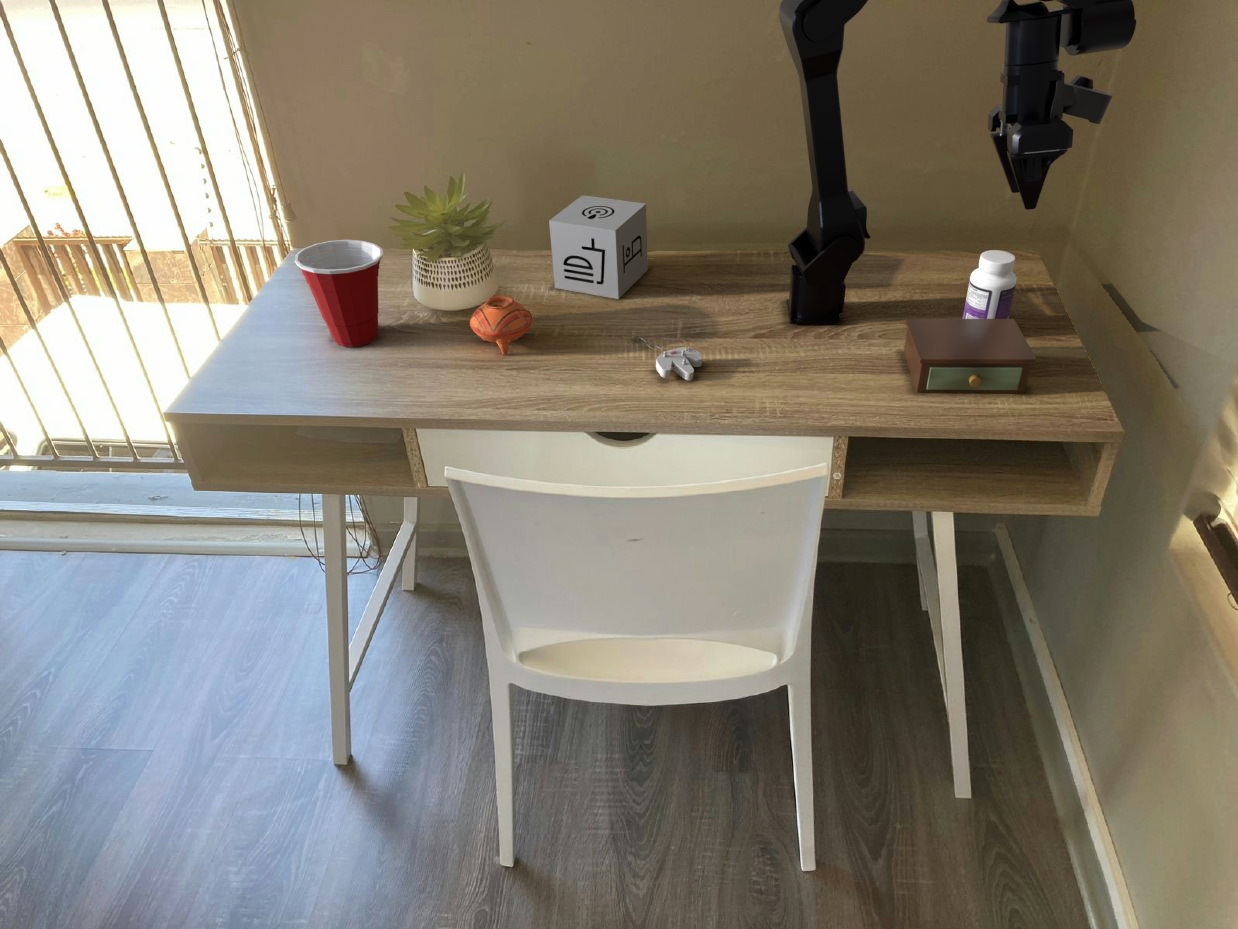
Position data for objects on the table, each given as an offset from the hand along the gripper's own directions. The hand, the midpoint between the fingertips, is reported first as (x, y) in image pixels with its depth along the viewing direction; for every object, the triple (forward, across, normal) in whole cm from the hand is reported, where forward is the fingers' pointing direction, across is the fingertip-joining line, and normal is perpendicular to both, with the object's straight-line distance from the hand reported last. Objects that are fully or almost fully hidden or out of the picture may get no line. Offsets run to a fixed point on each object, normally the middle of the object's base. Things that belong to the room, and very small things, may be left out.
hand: (1023, 200), depth 114 cm
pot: (+10, -13, +64) cm, 66 cm away
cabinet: (+16, -14, +8) cm, 23 cm away
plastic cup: (+7, -14, +84) cm, 86 cm away
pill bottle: (+15, -2, +4) cm, 16 cm away
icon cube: (+8, +7, +55) cm, 56 cm away
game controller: (+12, -15, +43) cm, 47 cm away
